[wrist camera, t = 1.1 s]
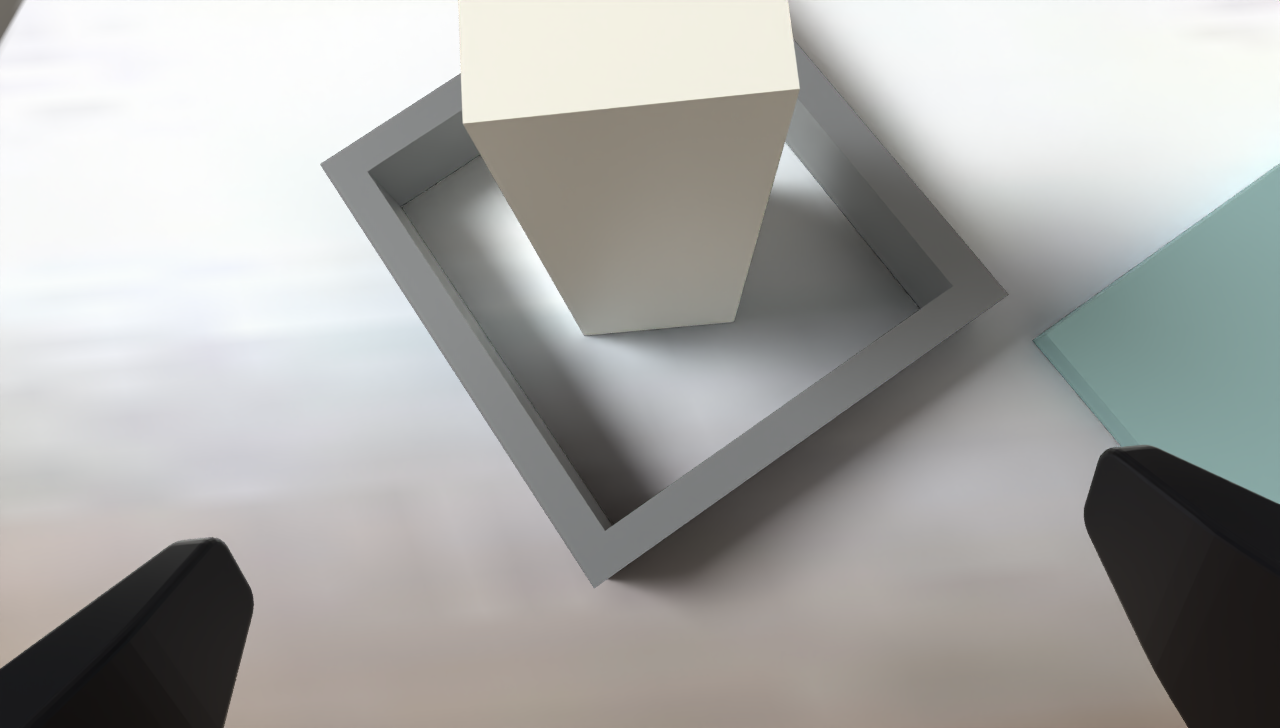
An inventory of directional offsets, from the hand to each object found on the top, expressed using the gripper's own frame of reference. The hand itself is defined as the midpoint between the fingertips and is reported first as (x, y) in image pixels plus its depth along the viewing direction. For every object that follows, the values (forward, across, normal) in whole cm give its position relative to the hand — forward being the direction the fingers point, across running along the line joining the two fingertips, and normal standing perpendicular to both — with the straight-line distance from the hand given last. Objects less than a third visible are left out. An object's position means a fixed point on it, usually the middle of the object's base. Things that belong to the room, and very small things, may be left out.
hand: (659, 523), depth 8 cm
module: (+15, 0, +4) cm, 16 cm away
